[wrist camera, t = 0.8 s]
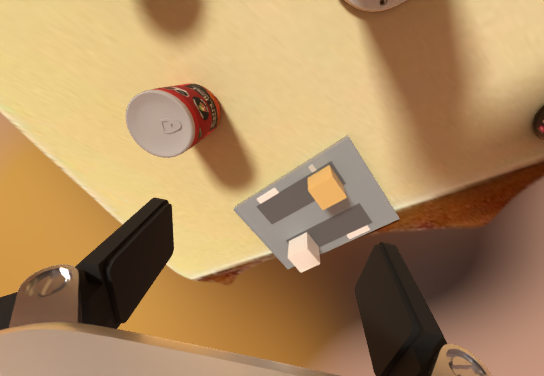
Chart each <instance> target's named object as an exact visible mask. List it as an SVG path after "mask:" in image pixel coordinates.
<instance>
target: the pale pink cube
mask: <svg viewBox="0 0 544 376" xmlns="http://www.w3.org/2000/svg"><path fill="white" fill-rule="evenodd" d="M288 259H289V260H290V261H291V262H292V263H293V265H294V266H295V267H296V268H297V269H298V270H299V271H300V272H303V271H306V270H308V269H310V268H312V267H314V266H317V265H319V264H320V254H319V246H318V245H317V244H316V243H315V241H314V240H313V239H312V238H311V236H310V235H309V234H308V233H307V232H306V233H304V234H302V235H300V236H298V237H296V238H294V239H292V240H290V241H289V246H288Z"/></svg>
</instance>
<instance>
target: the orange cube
mask: <svg viewBox="0 0 544 376" xmlns="http://www.w3.org/2000/svg"><path fill="white" fill-rule="evenodd" d="M308 191H309V193H310V194H311V195H312V197H313V198H314V199H315V201H316V202H317V203H318V205H319V206H320V207H321V209H322V210H325V209H326V208H328V207H330V206H332V205H334V204H336V203H338V202H340V201H342V200H344V199H345V198H347V196H346V193H345V190H344V187H343V184H342V183H341V181H340V180H339V178H338V177H337V175H336V174H335V172H334V171H333V169H332V168H331V166H330V165H328V166H326V167H325V168H323V169H321V170H320V171H318V172H316V173H315V174H313V175H311V176H310V177H308Z"/></svg>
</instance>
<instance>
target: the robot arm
mask: <svg viewBox="0 0 544 376" xmlns="http://www.w3.org/2000/svg"><path fill="white" fill-rule="evenodd" d="M344 1H345V2H347V3H348V4H349V5H351V6H353V7H354V8H356V9H359V10H363V11H367V12H379V11H383V10H388V9H391V8H393V7H395V6H397V5H400V4H401V3H403V2H405V1H406V0H382V1H383V5H380V1H381V0H344ZM173 250H174V242H173V222H172V205H171V204H169V203H168V201H167V200H164V199H159V198H153V199H151V200H150V201H149V202H148V203H147V204H146V205H144V206H143V207H142V208H141V209H140V210H139V211H138V212H137V213H135V214H134V215H133V216H132V217H131V218H130V219H129V220H127V221H126V222H125V223H124V224H123V225H122V226H121V227H120V228H118V229H117V230H116V231H115V232H114V233H113V234H112V235H111V236H109V237H108V238H107V239H106V240H105V241H104V242H102V243H101V244H100V245H99V246H98V247H97V248H96V249H95V250H93V251H92V252H91V253H90V254H89V255H88V256H87V257H85V258H84V259H83V260H82V261H81V262H80V263H79V264H78V265H77V266H76V267H73V266H70V265H56V266H51V267H48V268H45V269H42V270H40V271H38V272H36V273H34V274H33V275H31V276H30V277H28V278H27V279H26V280H25V281H24V282H23V283H22V284H21V286H20V288H19V290H18V292H16V293H13V294H10V295H7V296H4V297H0V376H340V375H335V374H330V373H326V372H321V371H317V370H312V369H307V368H303V367H298V366H293V365H289V364H284V363H280V362H275V361H270V360H265V359H260V358H256V357H251V356H246V355H242V354H237V353H232V352H228V351H223V350H218V349H213V348H209V347H204V346H199V345H194V344H189V343H184V342H179V341H174V340H170V339H165V338H160V337H155V336H150V335H145V334H140V333H135V332H130V331H124V330H119V329H117V328H118V327H119V325H120V324H121V323H125V322H126V321H127V320H128V319H129V317H130V316H131V314H132V313H133V311H134V309H135V308H136V307H137V305H138V304H139V303H140V301H141V299H142V298H143V297H144V295H145V294H146V292H147V291H148V289H149V288H150V287H151V285H152V284H153V282H154V281H155V279H156V277H157V276H158V275H159V273H160V272H161V270H162V269H163V268H164V266H165V265H166V263H167V262H168V260H169V259H170V257H171V256H172V254H173ZM355 294H356V298H357V302H358V306H359V311H360V315H361V319H362V323H363V328H364V332H365V336H366V340H367V344H368V348H369V352H370V357H371V361H372V365H373V369H374V373H375V375H376V376H492V375H491V373H490V372H489V370H488V369H487V368H486V366H485V365H484V364H483V363H482V362H481V361H480V360H479V359H478V358H477V357H476V356H475V355H473V354H472V353H471V352H469V351H468V350H466V349H465V348H463V347H460V346H458V345H455V344H447V342H446V340H445V339H444V337H443V334H442V332H441V330H440V328H439V326H438V324H437V323H436V320H435V319H434V317H433V315H432V313H431V311H430V309H429V307H428V305H427V304H426V302H425V300H424V298H423V296H422V294H421V292H420V290H419V288H418V286H417V285H416V283H415V281H414V279H413V277H412V275H411V273H410V271H409V270H408V268H407V266H406V264H405V262H404V260H403V258H402V257H401V254H400V253H399V251H398V249H397V247H396V246H395V245H393V244H388V243H383V242H380V243H379V245H375V246H374V248H373V250H372V252H371V254H370V257H369V259H368V261H367V263H366V265H365V267H364V269H363V271H362V274H361V276H360V278H359V280H358V282H357V284H356V288H355Z"/></svg>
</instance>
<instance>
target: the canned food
mask: <svg viewBox="0 0 544 376" xmlns="http://www.w3.org/2000/svg"><path fill="white" fill-rule="evenodd" d="M219 120H220V106H219V103H218V101H217V99H216V98H215V96H214V95H213V94H212V93H211V92H210V91H209V90H207V89H206V88H204V87H202V86H200V85H197V84H183V85H177V86H170V87H164V88H157V89H152V90H148V91H144V92H141V93H139V94H137V95H136V96H135V97H134V98H132V99H131V101H130V102H129V104H128V107H127V110H126V123H127V127H128V130H129V132H130V134H131V136H132V137H133V139H134V140H135V141H136V143H137V144H138V145H139V146H140V147H142V148H143V149H144V150H145V151H147V152H149V153H151V154H153V155H156V156H159V157H168V158H169V157H175V156H178V155H180V154H182V153H184V152H185V151H187V150H188V149H190V148H191V147H192V146H194V145H195V144H196V143H198V142H199V141H200V140H202V139H203V138H204V137H206V136H207V135H208V134H210V133H211V132H212V131H213V130H214V129H215V128H216V127H217V125H218V123H219Z"/></svg>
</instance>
